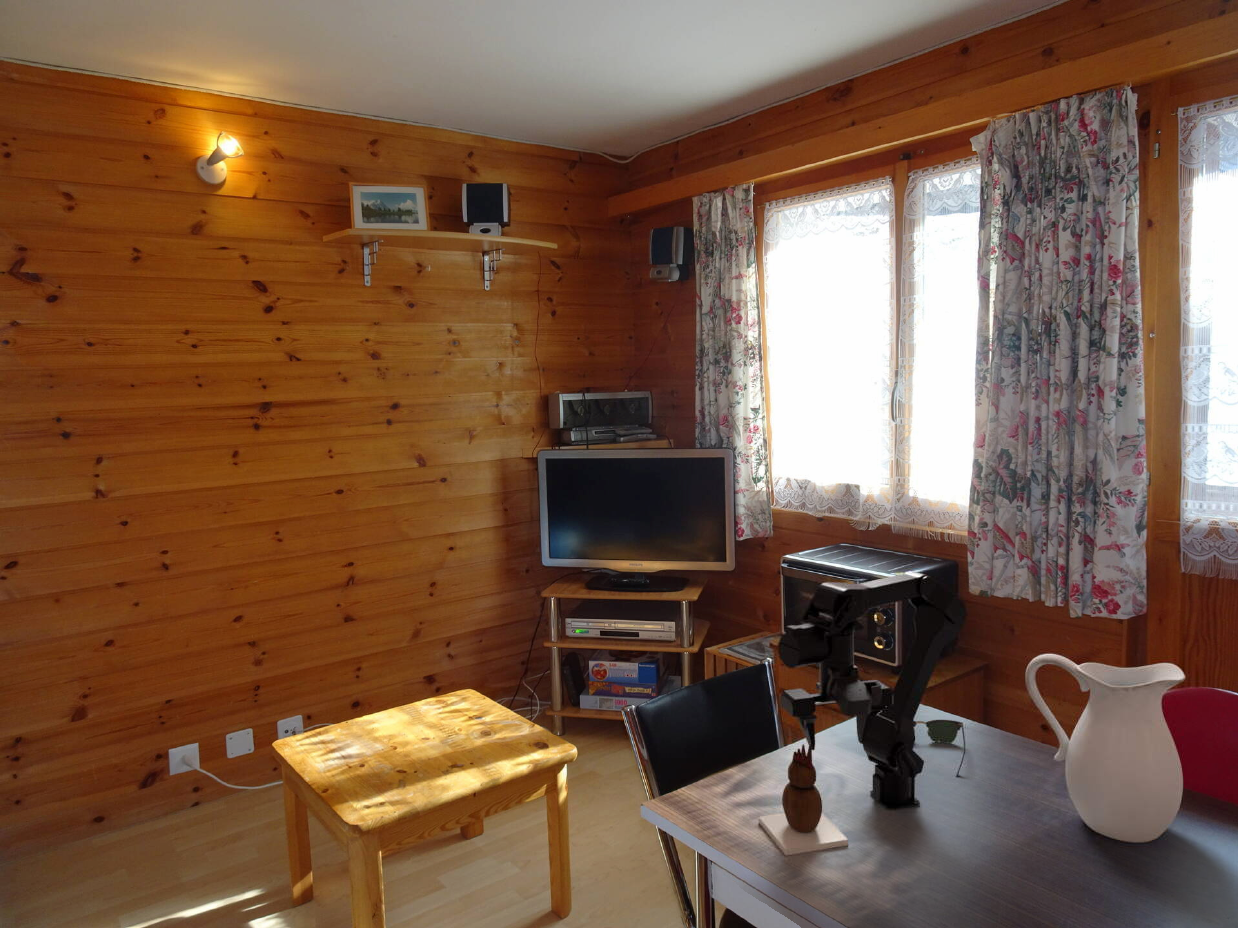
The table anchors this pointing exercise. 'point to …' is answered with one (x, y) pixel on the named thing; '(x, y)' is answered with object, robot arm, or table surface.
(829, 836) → the display tile
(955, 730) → the sunglasses
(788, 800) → the wooden figurine
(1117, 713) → the pitcher
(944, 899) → the table surface
